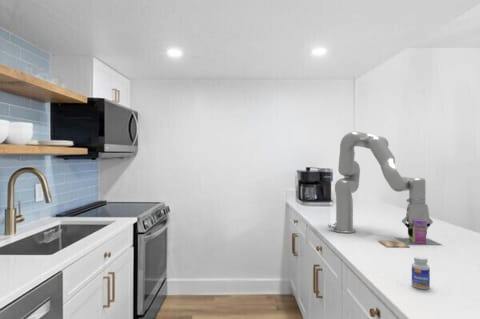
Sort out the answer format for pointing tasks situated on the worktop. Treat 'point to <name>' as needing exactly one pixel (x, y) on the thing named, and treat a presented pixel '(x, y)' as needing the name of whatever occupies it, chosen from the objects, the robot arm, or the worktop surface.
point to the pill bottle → (420, 273)
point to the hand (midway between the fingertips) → (417, 235)
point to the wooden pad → (394, 244)
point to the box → (419, 232)
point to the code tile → (409, 242)
